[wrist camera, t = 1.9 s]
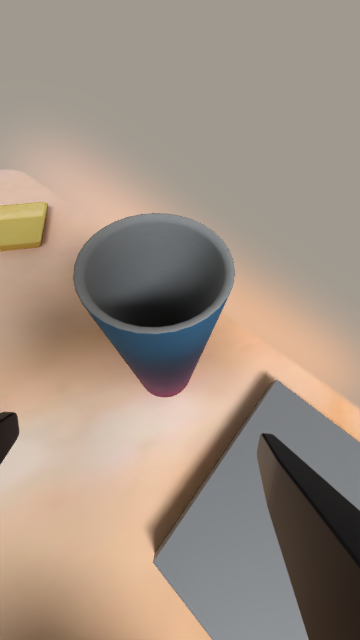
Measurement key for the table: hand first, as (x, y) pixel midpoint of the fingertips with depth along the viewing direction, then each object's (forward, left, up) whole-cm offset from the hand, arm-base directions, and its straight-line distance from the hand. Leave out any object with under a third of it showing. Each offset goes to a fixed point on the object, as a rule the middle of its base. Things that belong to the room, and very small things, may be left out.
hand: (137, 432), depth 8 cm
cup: (+6, +1, -13) cm, 15 cm away
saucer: (+21, +26, -13) cm, 36 cm away
